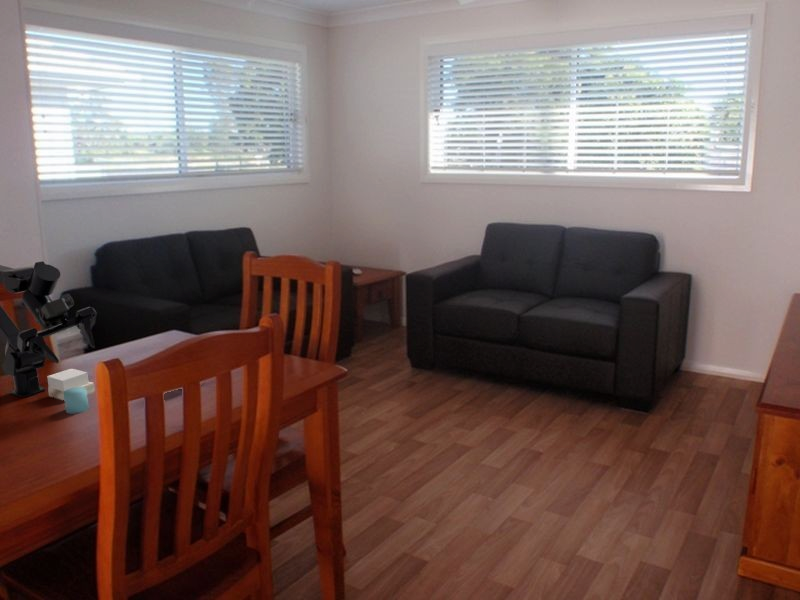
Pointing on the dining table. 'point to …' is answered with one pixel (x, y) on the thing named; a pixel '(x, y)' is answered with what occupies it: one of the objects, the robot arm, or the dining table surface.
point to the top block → (68, 379)
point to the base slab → (60, 394)
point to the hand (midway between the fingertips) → (76, 354)
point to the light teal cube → (76, 400)
